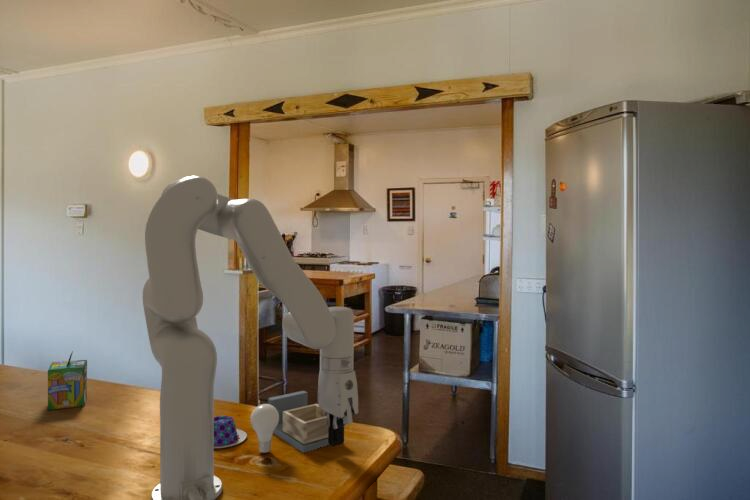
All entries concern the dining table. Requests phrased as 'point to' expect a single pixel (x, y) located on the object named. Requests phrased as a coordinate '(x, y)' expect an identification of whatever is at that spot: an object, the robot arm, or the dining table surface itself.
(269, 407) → the lightbulb
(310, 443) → the base
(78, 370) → the chalk box
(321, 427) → the box
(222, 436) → the pudding
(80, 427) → the dining table surface
